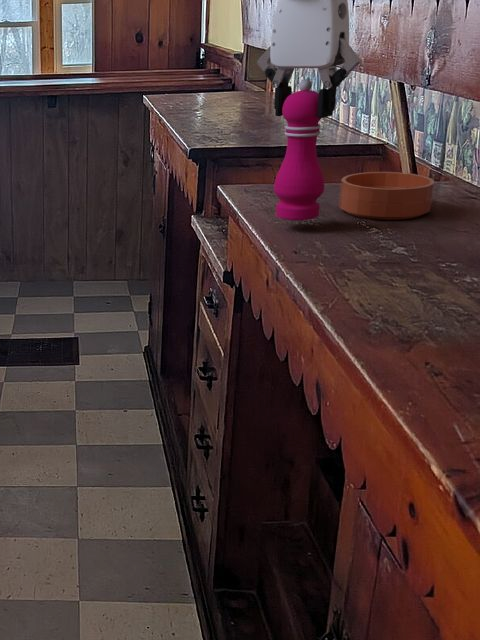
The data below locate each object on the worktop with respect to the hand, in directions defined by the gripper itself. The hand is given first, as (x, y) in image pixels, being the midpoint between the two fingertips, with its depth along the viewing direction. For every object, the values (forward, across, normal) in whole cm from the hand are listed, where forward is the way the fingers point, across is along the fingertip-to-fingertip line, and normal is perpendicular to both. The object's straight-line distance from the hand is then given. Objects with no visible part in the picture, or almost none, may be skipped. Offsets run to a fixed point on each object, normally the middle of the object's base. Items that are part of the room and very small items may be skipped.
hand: (303, 114), depth 126 cm
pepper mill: (+15, 0, 0) cm, 15 cm away
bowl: (+17, -5, -18) cm, 25 cm away
